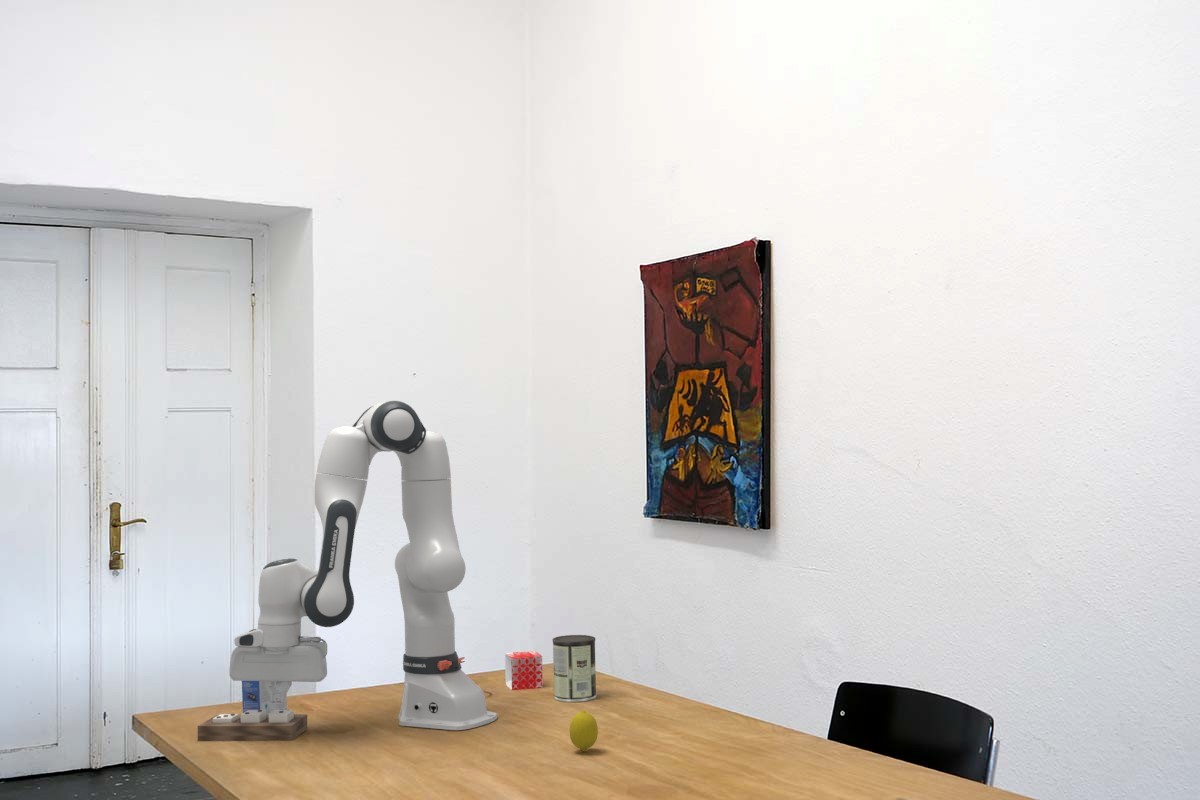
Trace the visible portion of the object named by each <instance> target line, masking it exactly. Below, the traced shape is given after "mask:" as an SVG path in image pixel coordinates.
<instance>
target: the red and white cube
mask: <svg viewBox="0 0 1200 800" xmlns="http://www.w3.org/2000/svg"><path fill="white" fill-rule="evenodd" d="M504 658H505V659H504V661H505V662H504V664H505V666H504V667H505V669H504V670H505V672H504V673H505V676H504V677H505V685H506V686H507V687H508V688H509V689H510V690H511V691H521V690H534V689H535V690H536V689H543V688H544V679H543V674H544V673H543V670H544V669H543V655H542V654H540V653H539V652H538V651H536V650H529V651H517V652H516V651H515V652H505V653H504Z"/></svg>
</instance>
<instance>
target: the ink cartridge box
mask: <svg viewBox="0 0 1200 800" xmlns="http://www.w3.org/2000/svg"><path fill="white" fill-rule="evenodd" d="M272 686H273V688H274V690H275V692H276V693H282V691H283V689H284V687H285V686H284V687H283V686H282V681H275V684H274V685H272ZM241 692H242V694H241V697H242V701H241V702H242V714H243V713H244V712H246V711H248V710H266V715H269V714H270V713H272V712H273V711H275V710H288V697H287V693H288V692H287V693H286V702H284V703H270V694H269V693H268V691H267V689H266V687H265V681H241Z"/></svg>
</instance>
